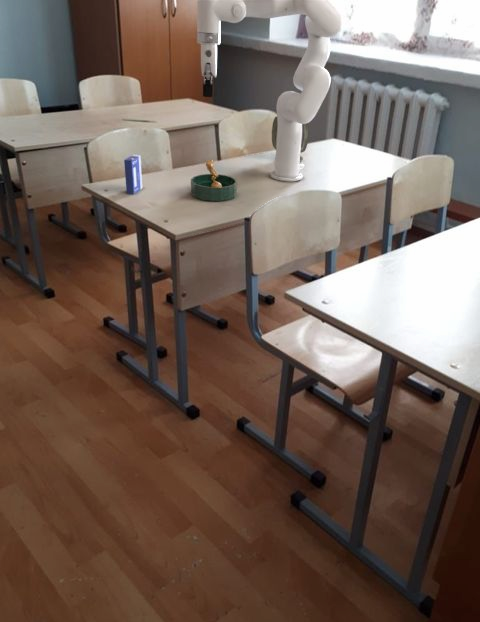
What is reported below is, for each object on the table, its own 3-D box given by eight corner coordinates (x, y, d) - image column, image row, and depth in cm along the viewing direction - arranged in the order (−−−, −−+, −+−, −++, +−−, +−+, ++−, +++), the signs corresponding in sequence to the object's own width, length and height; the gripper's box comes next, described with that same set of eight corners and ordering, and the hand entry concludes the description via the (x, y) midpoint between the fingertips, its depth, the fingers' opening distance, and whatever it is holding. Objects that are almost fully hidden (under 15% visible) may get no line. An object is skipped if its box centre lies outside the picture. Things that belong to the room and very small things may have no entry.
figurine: (226, 196, 212) (226, 161, 205) (210, 197, 209) (210, 163, 203) (216, 189, 218) (217, 155, 211) (201, 190, 215) (201, 157, 209)
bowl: (211, 184, 223) (211, 171, 220) (245, 194, 216) (245, 180, 213) (181, 194, 212) (181, 180, 209) (216, 205, 204) (216, 190, 202)
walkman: (133, 194, 209) (131, 159, 202) (126, 193, 209) (123, 158, 203) (143, 187, 215) (141, 154, 209) (135, 186, 216) (133, 153, 209)
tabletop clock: (273, 161, 255) (277, 99, 241) (269, 156, 262) (272, 95, 249) (306, 161, 258) (311, 100, 244) (301, 156, 265) (306, 96, 252)
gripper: (220, 42, 189) (219, 99, 198) (219, 37, 204) (218, 90, 213) (196, 40, 188) (196, 98, 197) (197, 35, 203) (197, 89, 212)
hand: (207, 94), depth 205 cm, fingers open, 9 cm apart
